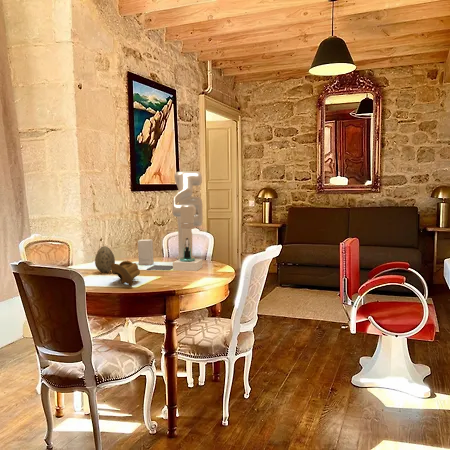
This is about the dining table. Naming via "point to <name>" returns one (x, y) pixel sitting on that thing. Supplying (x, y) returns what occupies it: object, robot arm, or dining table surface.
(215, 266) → the dining table surface
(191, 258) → the end cover
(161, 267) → the mat
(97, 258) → the decorative egg
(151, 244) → the skincare box
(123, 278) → the brown looped sculpture
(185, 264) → the housing
